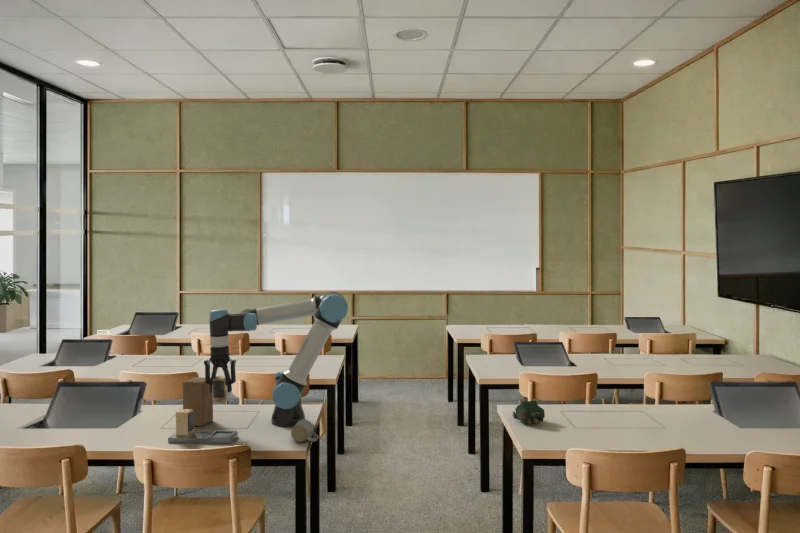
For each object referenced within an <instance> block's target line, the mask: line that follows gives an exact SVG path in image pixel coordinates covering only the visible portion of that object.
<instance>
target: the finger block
mask: <svg viewBox="0 0 800 533" xmlns="http://www.w3.org/2000/svg"><path fill="white" fill-rule="evenodd" d="M225 385H227V382H226V378H225V375H216V377H214V378H213V403H226V402H227V401H228V400H226V387H225Z"/></svg>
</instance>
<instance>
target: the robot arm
mask: <svg viewBox="0 0 800 533" xmlns="http://www.w3.org/2000/svg"><path fill="white" fill-rule="evenodd" d="M348 309H349V305H348V301H347V299H346V298H345V297H344V295H342V294H341V293H339V292H337V291H330V292H327V293H323V294H320V295H315V296H313V297H312V298H310V299H305V300H300V301H299V300H298V301H294V302H293V301H291V302H286V303H281V304H275V305H269V306H268V305H267V306H263V307H262V306H261V307H258V308H257V307H256V308H250V309H248V308H246V309H243V310H241V311H240V312H239V313H229V312H228V311H229V310H228V309H226V308H217V309H212V310H211V311H210V312H209V343H210V348H209V349H210V358H209V359H205V360H204V361H203V364H204V369H205V370H204V372H205V373H204V374H205V375H204V376H205V377H204V378H205V383H206V384H210V392H212V395H213V378H214V377H216V376H217V374H218V373H217V372H218V369H219V368H222V371H223V374H224V375H223V376H225V378H226V382H227V385H225V387H226V400H227V401H229V400H230V399H231V398H230V397H231V396H230V393H232V389H233V388H232V385H233V384H234V383H236V382H237V381H236V378H237V377H236V365H237V364H236V363H237V359H232V358H231V357H230V348H229V347H230V346H229V332H251V331H256V330H257V328H258V326H259V325H265V324H270V323H277V322H283V321H284V322H285V321H289V320H295V319H296V320H297V319H301V318H307V317H312V316H313V319H314V322H313V323H312V326H311V327H310V329H309V331H308V332H307V335H306V337H305V338H304V340H303V342H302V343H301V346H300V347H299V349H298V352H297V353H296V355H295V357H294V358H293V361H292V362H291V364H290V366H289V367H288V369H287V370H283V371H277V372H276V373H274V374H275V375H274V387H273V390H272V392H271V393H272V396H271V397H272V401H273V403H274V405H275V406H274V408H273V412H272V415H271V424H272V425H274V426H279V427H292V426H293V427H294V426H295V425H296V424H297V422H298V421H300V420H303V419H305V420H306V415H305V412H304V409H303V406H302V394H303V392H304V391H305V389H306V388H307V387H306V386H307V385H308V382H307V378H308V376H309V374H310V372H311V370H312V369H313V367H314V365H315V363H316V361H317V359H318V358H319V356H320V354H321V353H322V350H323V348H324V346H325V344H326V343H327V342H328V339H329V337H330V336H331V334H332V331H335V330H338V328H339V326H340V324H341V322H342V321H343V320H344V318H346V316H347V314H348V311H349V310H348ZM211 364H212V372H211ZM228 364H229V365H230V372H229V367H228ZM210 378H211V380H210Z"/></svg>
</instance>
